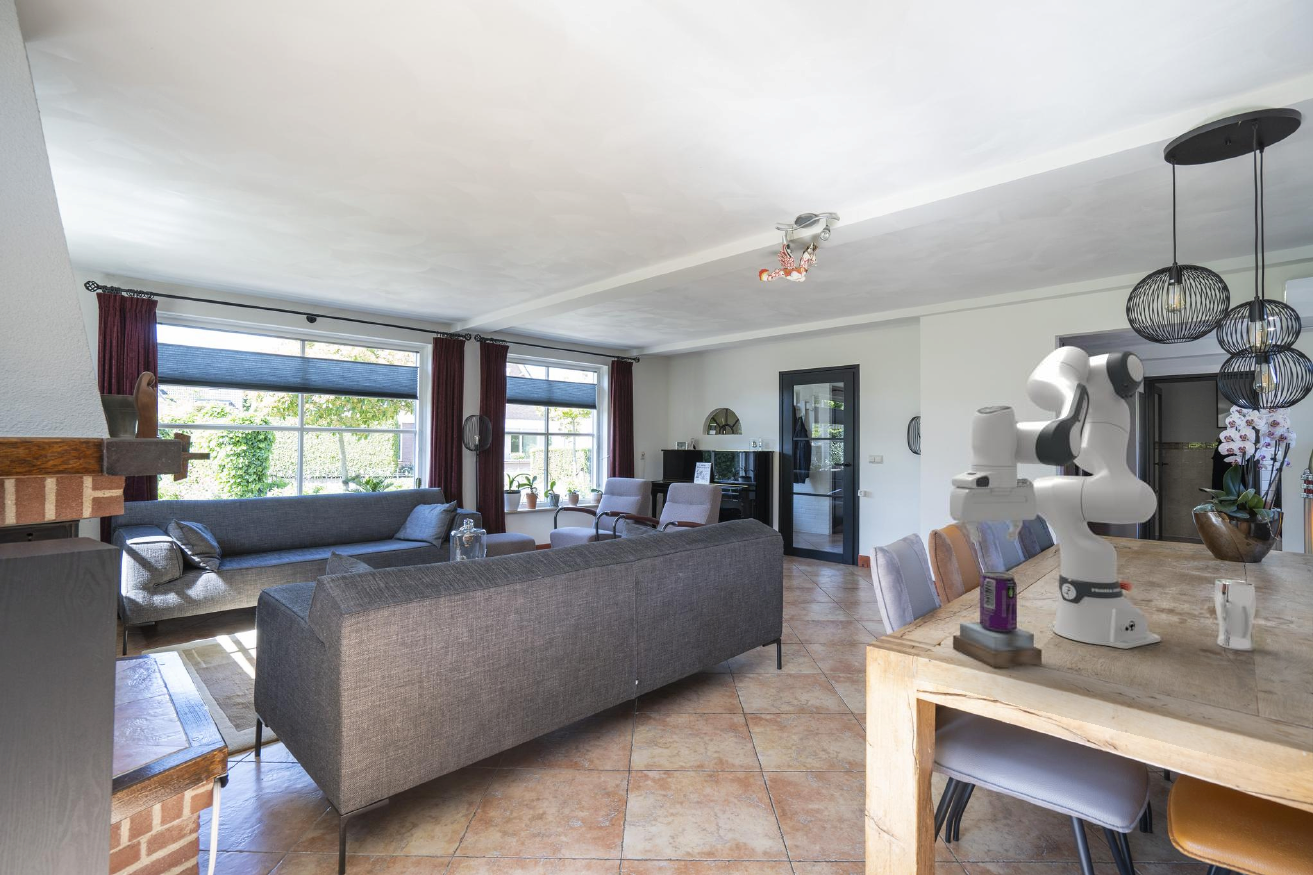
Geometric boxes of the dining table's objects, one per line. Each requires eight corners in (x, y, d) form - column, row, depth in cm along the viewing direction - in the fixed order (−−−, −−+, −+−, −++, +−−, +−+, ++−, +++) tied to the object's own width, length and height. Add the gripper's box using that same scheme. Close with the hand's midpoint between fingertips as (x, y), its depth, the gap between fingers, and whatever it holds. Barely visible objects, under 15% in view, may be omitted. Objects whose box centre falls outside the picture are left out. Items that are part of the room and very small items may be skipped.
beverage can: (1022, 635, 126) (1022, 578, 126) (985, 632, 128) (985, 576, 128) (1010, 625, 133) (1010, 571, 133) (975, 622, 135) (975, 570, 135)
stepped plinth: (997, 644, 138) (997, 619, 138) (1041, 663, 126) (1041, 635, 126) (953, 648, 135) (953, 622, 135) (993, 667, 124) (993, 639, 124)
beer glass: (1247, 644, 140) (1247, 580, 140) (1262, 653, 133) (1262, 586, 134) (1208, 639, 143) (1208, 577, 143) (1221, 648, 136) (1221, 583, 136)
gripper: (1021, 477, 137) (1021, 537, 137) (945, 478, 133) (945, 540, 133) (1044, 479, 131) (1045, 541, 131) (965, 480, 127) (965, 544, 126)
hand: (994, 540), depth 132 cm, fingers open, 8 cm apart
